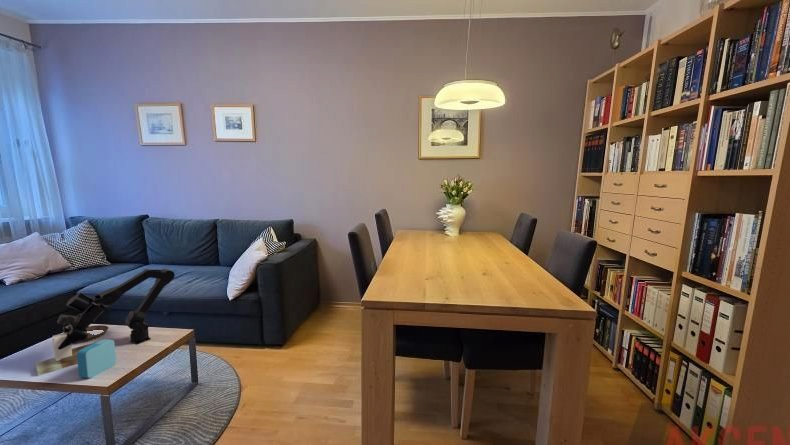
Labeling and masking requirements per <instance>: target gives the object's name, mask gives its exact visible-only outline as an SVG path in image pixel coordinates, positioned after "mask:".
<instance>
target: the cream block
mask: <svg viewBox="0 0 790 445" xmlns="http://www.w3.org/2000/svg"><path fill="white" fill-rule="evenodd" d="M68 333H69V332H68ZM66 337H67V335H66V333H63V332H62V333H59V334H55V335H52V345H53V352H54V358H55V359H56V361H58V360H61V359H62V358H66V357H69V356H72V349H73V348H72V344H71V345H69V346H67V347H65V348H63V349H61V350H60V349H58V347H59V346H60V345H61V343H62V342H63V341H64V340H65V338H66Z"/></svg>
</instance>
